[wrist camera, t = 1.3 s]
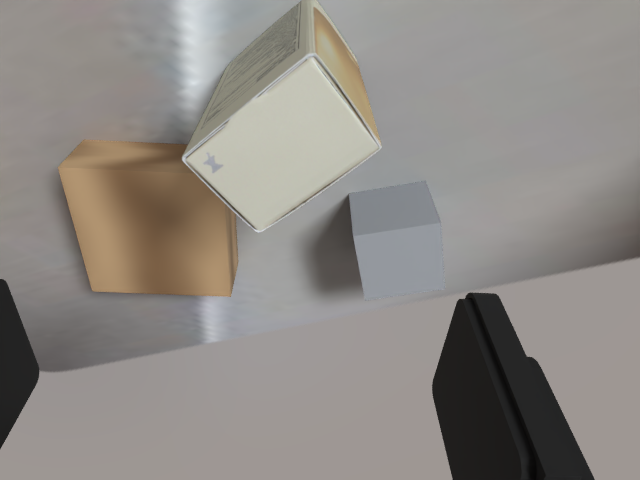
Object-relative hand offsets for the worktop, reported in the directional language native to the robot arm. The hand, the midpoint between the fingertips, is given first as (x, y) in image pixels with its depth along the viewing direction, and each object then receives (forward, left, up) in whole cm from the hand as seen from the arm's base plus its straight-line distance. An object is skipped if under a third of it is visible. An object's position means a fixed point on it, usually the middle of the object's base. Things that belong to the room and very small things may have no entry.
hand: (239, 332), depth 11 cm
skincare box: (0, 0, -21) cm, 21 cm away
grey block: (-7, +10, -21) cm, 24 cm away
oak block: (+8, +10, -21) cm, 25 cm away
